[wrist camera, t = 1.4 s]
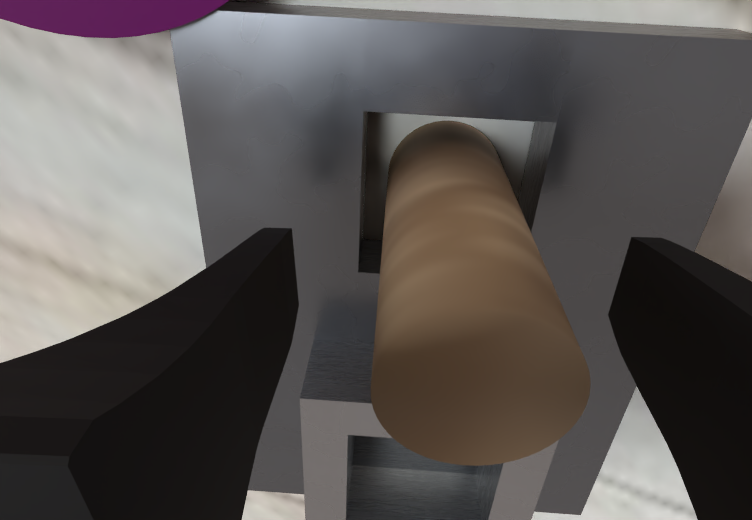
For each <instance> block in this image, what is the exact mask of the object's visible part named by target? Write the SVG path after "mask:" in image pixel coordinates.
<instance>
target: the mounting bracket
mask: <svg viewBox="0 0 752 520" xmlns="http://www.w3.org/2000/svg"><path fill="white" fill-rule="evenodd" d="M228 1H229V0H0V18H1V19H4V20H7V21H10V22H14V23H17V24H20V25H24V26H27V27H30V28H35V29H39V30H44V31H49V32H53V33H58V34H65V35H73V36H81V37H97V38H118V37H132V36H141V35H146V34H152V33H157V32H162V31H165V30H169V29H172V28H175V27H179V26H182V25H184V24H187V23H189V22H191V21H194V20H196V19H198V18H201V17H203V16H205V15H207V14H208V13H210V12H212V11H213V10H215V9H217V8H219V7H220V6H222V5H224V4H225V3H226V2H228Z"/></svg>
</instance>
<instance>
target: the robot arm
mask: <svg viewBox="0 0 752 520" xmlns="http://www.w3.org/2000/svg"><path fill="white" fill-rule="evenodd" d="M298 308H299V300H298V289H297V278H296V267H295V257H294V246H293V235H292V228H262V229H261V230H259V231H258V232H256V233H255V234H253V235H252V236H250V237H249V238H248V239H246V240H245V241H244V242H242V243H241V244H239V245H238V246H237V247H235V248H234V249H233V250H231V251H230V252H228V253H227V254H226V255H224V256H223V257H222V258H220V259H219V260H217V261H216V262H215V263H213V264H212V265H210V266H209V267H207V268H206V269H204V270H203V271H201V272H200V273H198V274H197V275H195V276H193V277H192V278H190V279H189V280H187V281H186V282H184V283H183V284H181V285H179V286H178V287H176V288H175V289H173V290H172V291H170V292H168V293H166V294H165V295H163V296H161V297H159V298H158V299H156V300H154V301H152V302H150V303H148V304H146V305H145V306H143V307H141V308H139V309H137V310H135V311H133V312H131V313H129V314H127V315H125V316H123V317H121V318H118V319H116V320H114V321H111V322H109V323H107V324H104V325H102V326H100V327H97V328H95V329H93V330H90V331H88V332H86V333H83V334H81V335H79V336H76V337H74V338H72V339H69V340H66V341H64V342H61V343H58V344H56V345H53V346H50V347H47V348H45V349H42V350H39V351H36V352H33V353H30V354H27V355H24V356H21V357H18V358H15V359H12V360H9V361H6V362H3V363H0V520H242V515H243V510H244V505H245V500H246V496H247V491H248V486H249V482H250V477H251V473H252V469H253V464H254V460H255V455H256V451H257V447H258V443H259V440H260V436H261V433H262V430H263V426H264V423H265V420H266V418H267V415H268V412H269V409H270V406H271V403H272V400H273V397H274V394H275V391H276V388H277V386H278V383H279V380H280V377H281V374H282V371H283V368H284V365H285V362H286V359H287V356H288V353H289V350H290V347H291V344H292V340H293V335H294V330H295V325H296V319H297V313H298ZM608 317H609V320H610V323H611V326H612V330H613V333H614V336H615V339H616V342H617V345H618V347H619V350H620V353H621V355H622V357H623V359H624V362H625V364H626V366H627V368H628V370H629V371H630V373H631V375H632V377H633V379H634V381H635V383H636V385H637V387H638V389H639V391H640V393H641V395H642V397H643V399H644V401H645V402H646V404H647V406H648V408H649V410H650V412H651V414H652V416H653V418H654V420H655V422H656V424H657V425H658V427H659V429H660V431H661V433H662V435H663V437H664V439H665V441H666V443H667V445H668V447H669V449H670V451H671V453H672V455H673V458H674V460H675V462H676V464H677V466H678V469H679V472H680V474H681V477H682V479H683V482H684V484H685V487H686V490H687V492H688V495H689V497H690V500H691V503H692V505H693V508H694V510H695V513H696V516H697V519H698V520H752V282H751V281H749V280H747V279H745V278H744V277H742V276H740V275H738V274H736V273H734V272H732V271H730V270H728V269H726V268H724V267H722V266H720V265H718V264H717V263H715V262H713V261H711V260H709V259H707V258H705V257H703V256H701V255H699V254H697V253H695V252H693V251H691V250H689V249H687V248H685V247H683V246H681V245H678V244H676V243H674V242H671V241H669V240H666V239H663V238H654V237H631V240H630V243H629V246H628V250H627V253H626V256H625V260H624V263H623V266H622V270H621V273H620V276H619V280H618V283H617V286H616V290H615V293H614V296H613V300H612V303H611V306H610V310H609V313H608Z"/></svg>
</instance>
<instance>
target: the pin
mask: <svg viewBox="0 0 752 520" xmlns="http://www.w3.org/2000/svg"><path fill="white" fill-rule="evenodd" d="M590 385H591V382H590V373H589V369H588V366H587V363H586V360H585V358H584V356H583V353H582V351H581V349H580V346H579V344H578V342H577V339H576V337H575V335H574V332H573V330H572V328H571V325H570V323H569V321H568V318H567V316H566V314H565V311H564V309H563V307H562V304H561V302H560V300H559V297H558V295H557V293H556V290H555V288H554V286H553V283H552V281H551V279H550V276H549V274H548V272H547V269H546V267H545V264H544V262H543V260H542V257H541V255H540V253H539V250H538V248H537V246H536V243H535V241H534V239H533V236H532V234H531V232H530V229H529V227H528V225H527V222H526V220H525V218H524V215H523V213H522V211H521V208H520V206H519V204H518V201H517V199H516V197H515V194H514V192H513V190H512V187H511V185H510V183H509V180H508V178H507V176H506V173H505V171H504V169H503V166H502V164H501V162H500V159H499V157H498V155H497V152H496V150H495V148H494V146H493V145H492V143H491V142H490V141H489V139H488V138H487V137H486V136H485V135H484V134H482V133H481V132H480V131H479V130H477V129H475V128H474V127H472V126H469V125H467V124H464V123H460V122H454V121H439V122H433V123H430V124H426V125H424V126H422V127H419V128H418V129H416V130H414V131H413V132H411V133H410V134H409V135H407V136H406V137H405V138H404V139H403V140H402V141H401V143H400V144H399V145H398V146H397V148H396V150H395V151H394V153H393V156H392V158H391V161H390V165H389V171H388V182H387V194H386V207H385V219H384V231H383V243H382V255H381V267H380V280H379V292H378V304H377V316H376V328H375V340H374V353H373V365H372V377H371V401H372V406H373V410H374V412H375V414H376V417H377V419H378V420H379V422H380V424H381V425H382V427H383V428H384V429H385V430H386V431H387V433H388V434H389V435H390V436H391V437H393V438H394V439H395V440H396V441H397V442H398V443H400V444H401V445H403V446H404V447H406V448H407V449H409V450H411V451H413V452H415V453H417V454H419V455H422V456H424V457H427V458H430V459H433V460H436V461H440V462H445V463H450V464H457V465H470V466H480V465H493V464H501V463H506V462H510V461H515V460H518V459H521V458H524V457H527V456H530V455H532V454H535V453H537V452H539V451H541V450H543V449H545V448H547V447H548V446H550V445H552V444H553V443H555V442H556V441H558V440H559V439H560V438H561V437H563V436H564V435H565V434H566V433H567V432H568V431H569V430H570V429H571V428H572V427H573V426H574V425H575V424H576V422H577V421H578V419H579V418H580V416H581V415H582V413H583V411H584V409H585V407H586V405H587V402H588V398H589V395H590Z"/></svg>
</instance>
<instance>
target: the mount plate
mask: <svg viewBox="0 0 752 520" xmlns="http://www.w3.org/2000/svg"><path fill="white" fill-rule="evenodd" d="M170 35H171V42H172V48H173V55H174V61H175V68H176V74H177V81H178V87H179V94H180V100H181V107H182V113H183V120H184V126H185V133H186V139H187V146H188V152H189V159H190V165H191V172H192V178H193V185H194V191H195V198H196V204H197V211H198V217H199V223H200V230H201V236H202V243H203V249H204V256H205V262H206V268H207V267H209V266H210V265H212V264H213V263H215V262H216V261H217V260H219V259H220V258H222V257H223V256H224V255H226V254H227V253H228V252H230V251H231V250H233V249H234V248H235V247H237V246H238V245H239V244H241V243H242V242H244V241H245V240H246V239H248V238H249V237H250V236H252V235H253V234H255V233H256V232H258V231H259V230H261V229H262V228H292V235H293V246H294V257H295V267H296V278H297V289H298V300H299V308H298V313H297V319H296V325H295V330H294V335H293V340H292V344H291V347H290V350H289V353H288V356H287V359H286V362H285V365H284V368H283V371H282V374H281V377H280V380H279V383H278V386H277V388H276V391H275V394H274V397H273V400H272V403H271V406H270V409H269V412H268V415H267V418H266V420H265V423H264V426H263V430H262V433H261V436H260V440H259V443H258V447H257V451H256V455H255V460H254V464H253V469H252V473H251V477H250V482H249V486H248V490H254V491H268V492H281V493H294V494H304V497H305V518H306V520H531V519H532V516H533V513H534V511H535V512H548V513H561V514H575V515H581V513H582V511H583V508H584V506H585V504H586V501H587V499H588V497H589V495H590V492H591V490H592V488H593V485H594V483H595V481H596V478H597V476H598V474H599V471H600V469H601V467H602V464H603V462H604V460H605V457H606V455H607V453H608V450H609V448H610V446H611V443H612V441H613V439H614V437H615V434H616V432H617V430H618V427H619V425H620V423H621V420H622V418H623V416H624V413H625V411H626V409H627V406H628V404H629V402H630V399H631V397H632V395H633V392H634V390H635V388H636V386H637V385H636V383H635V381H634V379H633V377H632V375H631V373H630V371H629V370H628V368H627V366H626V364H625V362H624V359H623V357H622V355H621V353H620V350H619V347H618V345H617V342H616V339H615V336H614V333H613V330H612V326H611V323H610V320H609V317H608V313H609V310H610V306H611V303H612V300H613V296H614V293H615V290H616V286H617V283H618V280H619V276H620V273H621V270H622V266H623V263H624V260H625V256H626V253H627V250H628V246H629V243H630V240H631V237H654V238H663V239H666V240H669V241H671V242H674V243H676V244H678V245H681V246H683V247H685V248H687V249H689V250H691V251H693V252H694V251H695V249H696V246H697V244H698V242H699V239H700V237H701V235H702V232H703V230H704V228H705V225H706V223H707V221H708V219H709V216H710V214H711V212H712V209H713V207H714V205H715V202H716V200H717V198H718V195H719V193H720V191H721V188H722V186H723V184H724V181H725V179H726V177H727V174H728V172H729V170H730V168H731V165H732V163H733V161H734V158H735V156H736V154H737V151H738V149H739V147H740V144H741V142H742V140H743V137H744V135H745V133H746V130H747V128H748V126H749V123H750V121H751V119H752V33H748V32H744V31H741V30H737V29H721V28H703V27H684V26H666V25H648V24H630V23H611V22H593V21H575V20H557V19H538V18H520V17H502V16H484V15H465V14H447V13H429V12H411V11H392V10H374V9H356V8H338V7H319V6H301V5H283V4H265V3H246V2H226V3H225V4H224V5H222V6H220V7H219V8H217V9H215V10H213V11H212V12H210V13H208V14H207V15H205V16H203V17H201V18H198V19H196V20H194V21H191V22H189V23H187V24H184V25H182V26H179V27H175V28H172V29H170ZM368 112H385V113H402V114H419V115H435V116H452V117H469V118H486V119H503V120H520V121H535V123H534V128H533V133H532V138H531V143H530V147H529V152H528V157H527V162H526V167H525V171H524V176H523V181H522V186H521V190H520V195H519V200H518V204H519V206H520V208H521V211H522V213H523V215H524V218H525V220H526V222H527V225H528V227H529V229H530V232H531V234H532V236H533V239H534V241H535V243H536V246H537V248H538V250H539V253H540V255H541V257H542V260H543V262H544V264H545V267H546V269H547V272H548V274H549V276H550V279H551V281H552V283H553V286H554V288H555V290H556V293H557V295H558V297H559V300H560V302H561V304H562V307H563V309H564V311H565V314H566V316H567V318H568V321H569V323H570V325H571V328H572V330H573V332H574V335H575V337H576V339H577V342H578V344H579V346H580V349H581V351H582V353H583V356H584V358H585V360H586V363H587V366H588V369H589V373H590V382H591V385H590V395H589V398H588V402H587V405H586V407H585V409H584V411H583V413H582V415H581V416H580V418H579V419H578V421H577V422H576V424H575V425H574V426H573V427H572V428H571V429H570V430H569V431H568V432H567V433H566V434H565V435H564V436H563V437H561V438H560V439H559V440H558V441H556V442H555V443H553V444H552V445H550V446H548V447H547V448H545V449H543V450H541V451H539V452H537V453H535V454H532V455H530V456H527V457H524V458H521V459H518V460H515V461H510V462H506V463H501V464H493V465H480V466H470V465H457V464H450V463H445V462H440V461H436V460H433V459H430V458H427V457H424V456H422V455H419V454H417V453H415V452H413V451H411V450H409V449H407V448H406V447H404V446H403V445H401V444H400V443H398V442H397V441H396V440H395V439H394V438H393V437H391V436H390V435H389V434H388V433H387V431H386V430H385V429H384V428H383V427H382V425H381V424H380V422H379V420H378V419H377V417H376V414H375V412H374V410H373V406H372V401H371V377H372V365H373V353H374V340H375V328H376V316H377V304H378V292H379V280H380V267H381V255H382V243H383V241H378V240H363V228H364V200H365V172H366V144H367V116H368Z"/></svg>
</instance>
